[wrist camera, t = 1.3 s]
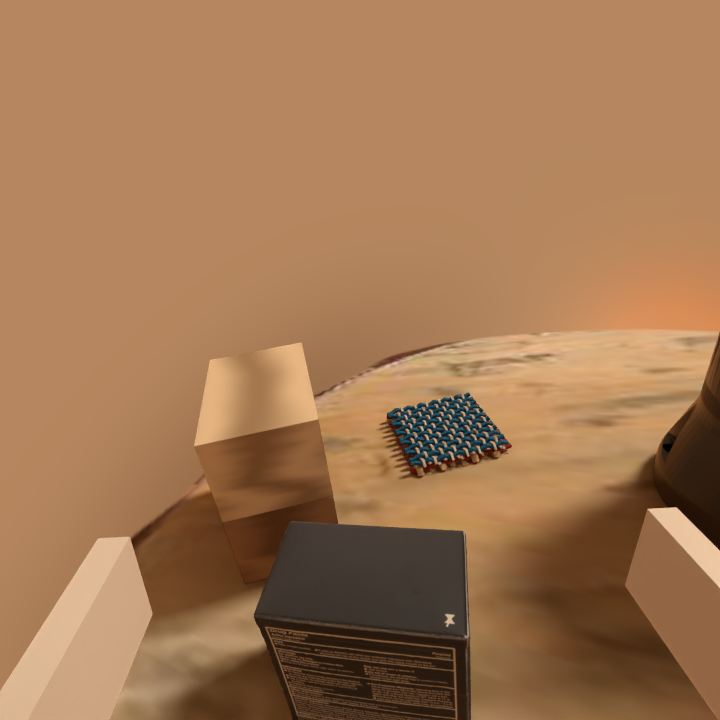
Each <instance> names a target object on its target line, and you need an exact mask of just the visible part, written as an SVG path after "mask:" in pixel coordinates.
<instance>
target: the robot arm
mask: <svg viewBox="0 0 720 720" xmlns="http://www.w3.org/2000/svg"><path fill="white" fill-rule="evenodd" d="M653 478H654V482H655V485H656V487H657V489H658V491H659V493H660V495H661V497H662V498H663V500H664V501H665V502H666V504H667V505H668V506H669V507H670V508H654V509H647V512H646V515H645V519H644V522H643V526H642V529H641V532H640V536H639V539H638V542H637V546H636V549H635V553H634V556H633V559H632V563H631V566H630V569H629V573H628V576H627V579H626V583H625V587H626V588H627V590H628V591H629V592H630V594H631V595H632V597H633V598H634V600H635V601H636V603H637V604H638V606H639V607H640V608H641V610H642V611H643V613H644V614H645V616H646V617H647V619H648V620H649V621H650V623H651V624H652V626H653V627H654V629H655V630H656V632H657V633H658V634H659V636H660V637H661V639H662V640H663V642H664V643H665V645H666V646H667V647H668V649H669V650H670V652H671V653H672V655H673V656H674V658H675V659H676V660H677V662H678V663H679V665H680V666H681V668H682V669H683V671H684V672H685V673H686V675H687V676H688V678H689V679H690V681H691V682H692V684H693V685H694V687H695V688H696V689H697V691H698V692H699V694H700V695H701V697H702V698H703V700H704V701H705V702H706V704H707V705H708V707H709V708H710V710H711V711H712V713H713V714H714V715H715V717H716V718H717V720H720V550H719V549H718V548H717V547H716V546H715V545H714V544H716V545H718V546H720V333H719V336H718V339H717V342H716V346H715V349H714V352H713V355H712V358H711V361H710V364H709V368H708V371H707V374H706V378H705V381H704V384H703V387H702V390H701V393H700V396H699V397H698V398H697V400H696V401H695V402H694V403H693V404H692V405H691V406H690V408H689V409H688V410H687V411H686V412H685V413H684V414H683V416H682V417H681V418H680V419H679V420H678V421H677V423H676V424H675V425H674V426H673V427H672V428H671V429H670V431H669V432H668V433H667V434H666V435H665V436H664V438H663V439H662V441H661V443H660V445H659V447H658V451H657V454H656V458H655V462H654V466H653ZM712 542H713V543H714V544H713V543H712ZM152 614H153V613H152V610H151V606H150V603H149V600H148V596H147V593H146V590H145V586H144V583H143V579H142V576H141V573H140V569H139V566H138V563H137V559H136V556H135V552H134V549H133V546H132V542H131V539H130V537H114V538H113V537H112V538H98V539H97V541H96V542H95V544H94V546H93V547H92V549H91V550H90V552H89V553H88V555H87V557H86V558H85V560H84V561H83V563H82V564H81V566H80V567H79V569H78V571H77V572H76V574H75V575H74V577H73V578H72V580H71V581H70V583H69V585H68V586H67V588H66V589H65V591H64V592H63V594H62V596H61V597H60V599H59V600H58V602H57V603H56V605H55V607H54V608H53V610H52V611H51V613H50V614H49V616H48V618H47V619H46V621H45V622H44V624H43V625H42V627H41V628H40V630H39V632H38V633H37V635H36V636H35V638H34V639H33V641H32V642H31V644H30V646H29V647H28V649H27V650H26V652H25V654H24V655H23V656H22V658H21V660H20V661H19V663H18V664H17V666H16V667H15V669H14V670H13V672H12V674H11V675H10V677H9V678H8V680H7V682H6V683H5V685H4V686H3V688H2V689H1V691H0V720H109V719H110V717H111V714H112V712H113V710H114V707H115V705H116V702H117V700H118V697H119V695H120V692H121V690H122V688H123V685H124V683H125V680H126V678H127V675H128V673H129V671H130V668H131V666H132V663H133V661H134V658H135V656H136V653H137V651H138V649H139V646H140V644H141V641H142V639H143V636H144V634H145V631H146V629H147V627H148V624H149V622H150V619H151V617H152Z"/></svg>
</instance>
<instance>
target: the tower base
mask: <svg viewBox="0 0 720 720" xmlns="http://www.w3.org/2000/svg"><path fill="white" fill-rule="evenodd" d="M292 521H296V522H312V523H328V524H338V520H337V515H336V510H335V504H334V499H333V496H332V497H328V498H324V499H320V500H315V501H311V502H307V503H303V504H299V505H295V506H290V507H286V508H282V509H278V510H274V511H270V512H265V513H261V514H257V515H253V516H249V517H245V518H240V519H236V520H232V521H228V522H224V523H223V522H222V524H223V527H224V529H225V532H226V535H227V537H228V540H229V542H230V545H231V548H232V550H233V553H234V556H235V558H236V561H237V564H238V566H239V569H240V572H241V574H242V577H243V580H244V582H245V584H248V583H252V582H256V581H260V580H264V579H267V578H268V576H269V573H270V571H271V568H272V565H273V563H274V560H275V558H276V555H277V553H278V550H279V548H280V545H281V542H282V540H283V537H284V535H285V532H286V530H287V528H288V526H289V523H290V522H292Z"/></svg>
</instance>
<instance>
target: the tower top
mask: <svg viewBox="0 0 720 720" xmlns="http://www.w3.org/2000/svg"><path fill="white" fill-rule="evenodd" d="M194 447H195V450H196V453H197V455H198V458H199V461H200V463H201V466H202V469H203V471H204V474H205V477H206V479H207V482H208V485H209V487H210V490H211V493H212V495H213V498H214V501H215V503H216V506H217V509H218V511H219V514H220V517H221V519H222V522H223V523H224V522H228V521H232V520H236V519H240V518H245V517H249V516H253V515H257V514H261V513H265V512H270V511H274V510H278V509H282V508H286V507H290V506H295V505H299V504H303V503H307V502H311V501H315V500H320V499H324V498H328V497H332V496H333V492H332V487H331V482H330V477H329V472H328V466H327V461H326V456H325V451H324V446H323V441H322V436H321V431H320V425H319V420H318V416H317V411H316V407H315V402H314V397H313V393H312V388H311V384H310V379H309V375H308V371H307V366H306V361H305V357H304V352H303V347H302V343H296V344H292V345H286V346H281V347H275V348H270V349H265V350H260V351H255V352H250V353H245V354H239V355H234V356H229V357H224V358H218V359H213V360H210V363H209V369H208V374H207V380H206V385H205V391H204V396H203V401H202V407H201V412H200V417H199V422H198V428H197V433H196V439H195V444H194Z"/></svg>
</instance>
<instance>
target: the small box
mask: <svg viewBox="0 0 720 720" xmlns="http://www.w3.org/2000/svg"><path fill="white" fill-rule="evenodd" d="M466 555H467V550H466V534H465V532H464V531H454V530H437V529H416V528H398V527H380V526H363V525H345V524H328V523H312V522H296V521H292V522H290V523H289V526H288V528H287V530H286V532H285V535H284V537H283V540H282V542H281V545H280V548H279V550H278V553H277V555H276V558H275V560H274V563H273V565H272V568H271V571H270V573H269V576H268V578H267V581H266V584H265V586H264V589H263V591H262V594H261V597H260V599H259V602H258V604H257V607H256V610H255V613H254V619H255V621H256V624H257V625H258V627H259V628H260V631H261V634H262V636H263V638H264V640H265V643H266V645H267V649H268V650H269V653H270V656H271V659H272V662H273V664H274V667H275V670H276V673H277V675H278V678H279V681H280V683H281V686H282V688H283V692H284V695H285V697H286V699H287V702H288V705H289V708H290V711H291V715H292V718H293V720H471V684H470V682H471V680H470V630H469V604H468V581H467V556H466Z"/></svg>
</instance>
